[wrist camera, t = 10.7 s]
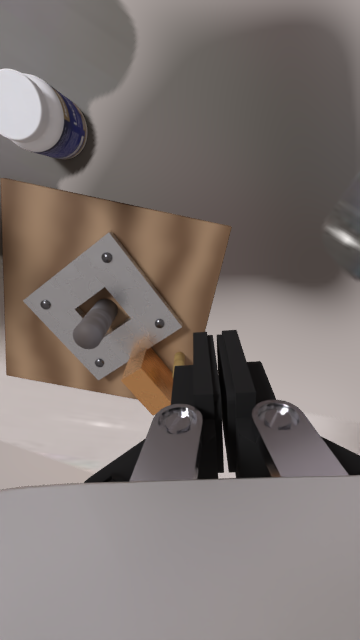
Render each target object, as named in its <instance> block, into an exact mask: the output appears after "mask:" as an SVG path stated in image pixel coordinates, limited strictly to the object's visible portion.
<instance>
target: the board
mask: <svg viewBox="0 0 360 640" xmlns="http://www.w3.org/2000/svg"><path fill="white" fill-rule="evenodd" d="M1 209H2V242H3V275H4V308H5V341H6V374H7V375H9V376H14V377H20V378H25V379H30V380H36V381H41V382H47V383H52V384H57V385H63V386H68V387H74V388H79V389H84V390H90V391H95V392H101V393H106V394H111V395H117V396H122V397H128V398H133V399H137V398H136V397H135V395H134V394H133V393H132V392H131V391H130V390H129V389H128V388H127V387H126V386H125V385H124V384H123V382H122V381H121V379H122V376H123V373H124V371H125V368H126V365H127V363H125V364H124V365H122V366H120V367H119V368H117V369H116V370H114V371H113V372H111V373H109V374H108V375H106V376H105V377H103V378H102V379H100V380H97V379H96V377H95V376H94V375H93V374H92V373H91V372H90V371H89V370H88V369H87V368H86V367H85V366H84V365H83V364H82V363H81V362H80V361H79V360H78V359H77V357H76V356H75V355H74V354H73V353H72V352H71V351H70V350H69V349H68V348H67V347H66V346H65V345H64V344H63V343H62V342H61V341H60V340H59V339H58V337H57V336H56V335H55V334H54V333H53V332H52V331H51V330H50V329H49V328H48V327H47V326H46V325H45V324H44V323H43V322H42V321H41V320H40V319H39V317H38V316H37V315H36V314H35V313H34V312H33V311H32V310H31V309H30V308H29V307H28V306H27V305H26V304H25V303H24V302H23V300H24V299H26V298H27V297H28V296H29V295H31V294H32V293H33V292H34V291H36V290H37V289H38V288H39V287H41V286H42V285H43V284H44V283H46V282H47V281H48V280H49V279H51V278H52V277H53V276H55V275H56V274H57V273H58V272H60V271H61V270H62V269H63V268H65V267H66V266H67V265H68V264H70V263H71V262H72V261H73V260H75V259H76V258H77V257H78V256H80V255H81V254H82V253H84V252H85V251H86V250H87V249H89V248H90V247H91V246H92V245H94V244H95V243H96V242H97V241H99V240H100V239H101V238H102V237H104V236H105V235H106V234H107V233H109V232H111V231H112V232H113V234H114V235H115V236H116V238H117V239H118V240H119V242H120V243H121V244H122V245H123V247H124V248H125V249H126V251H127V252H128V253H129V255H130V256H131V257H132V258H133V260H134V261H135V262H136V264H137V265H138V266H139V268H140V269H141V270H142V271H143V273H144V274H145V275H146V277H147V278H148V279H149V280H150V282H151V283H152V284H153V286H154V287H155V288H156V290H157V291H158V292H159V293H160V295H161V296H162V297H163V299H164V300H165V301H166V303H167V304H168V305H169V306H170V308H171V309H172V310H173V312H174V313H175V314H176V316H177V317H178V318H179V319H180V321H181V322H182V328H180V329H178V330H177V331H175V332H174V333H172V334H171V335H169V336H167V337H166V338H164V339H163V340H161V341H160V342H158V343H156V344H155V345H153V346H152V347H151V348H152V349H153V351H154V352H155V353H156V354H157V355H158V357H159V358H160V359H161V360H162V361H163V363H164V364H165V365H166V366H167V367H168V369H169V370H170V371H171V372H172V373H173V375H172V377H173V376H174V367H175V366H181V365H193V333H194V332H205V329H206V325H207V321H208V317H209V313H210V309H211V305H212V301H213V298H214V294H215V290H216V286H217V282H218V278H219V274H220V271H221V267H222V263H223V259H224V255H225V251H226V247H227V243H228V239H229V236H230V232H231V228H232V227H231V226H228V225H223V224H218V223H213V222H209V221H204V220H199V219H195V218H190V217H185V216H181V215H176V214H171V213H167V212H162V211H157V210H152V209H148V208H143V207H138V206H133V205H129V204H124V203H120V202H115V201H110V200H105V199H100V198H96V197H91V196H87V195H82V194H77V193H73V192H68V191H63V190H59V189H54V188H49V187H45V186H40V185H35V184H31V183H26V182H21V181H16V180H12V179H7V178H1ZM78 307H79V308H80V309H81V310H82V311H83V312H84V313H85V317H84V318H83V319H82V320H81V321H80V323H79V324H78V325H77V326H76V327H75V329H74V331H73V339H74V341H75V343H76V344H77V345H78V346H80V347H82V348H84V349H94V348H96V347H97V346H98V345H99V344H100V342H101V341H102V339H103V337H104V336H105V334H106V333H108V332H109V331H111V330H112V329H114V328H115V327H116V326H118V325H119V324H121V323H122V322H124V321H125V320H127V319H128V318H130V316H129V315H128V314H127V313H126V312H125V310H124V309H123V308H122V307H121V306H120V304H119V303H118V302H117V301H116V300H115V298H114V297H113V296H112V295H111V294H110V292H109V291H108V290H107V289H106V288H105V287H104V288H103V289H101V290H100V291H99V292H97V293H96V294H95V295H93V296H92V297H91V298H89V299H88V300H87V301H85V302H84V303H82V304H81V305H80V306H78Z"/></svg>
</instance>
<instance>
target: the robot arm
mask: <svg viewBox="0 0 360 640" xmlns="http://www.w3.org/2000/svg"><path fill="white" fill-rule="evenodd" d="M217 355H218V370H217V363H216V356H215V349H214V342H213V335H207V332H194V333H193V365H181V366H175V367H174V376H173V386H172V396H171V405H169V406H166V407H164V408H162V409H161V410H160V411H159V412H157V413H156V415H155V417H154V418H153V421H152V423H151V426H150V429H149V431H148V434H147V437H146V439H144V440H143V441H141V442H140V443H139V444H137V445H136V446H134V447H133V448H131V449H130V450H129V451H127V452H126V453H124V454H123V455H121V456H120V457H118V458H117V459H116V460H114V461H113V462H111V463H110V464H108V465H107V466H105V467H104V468H103V469H101V470H100V471H98V472H97V473H95V474H94V475H93V476H91V477H90V478H89V479H87V480H86V481H85V482H84V483H71V484H54V485H39V486H24V487H16V488H9V489H2V490H0V640H360V456H359V455H357V454H355V453H353V452H351V451H349V450H347V449H345V448H343V447H341V446H339V445H337V444H335V443H333V442H331V441H329V440H327V439H325V438H323V437H321V436H320V435H319V434H318V432H317V431H316V430H315V428H314V427H313V426H312V424H311V423H310V421H309V420H308V419H307V417H306V416H305V415H304V413H303V412H302V411H301V410H300V409H299V408H298V407H296V406H295V405H293V404H291V403H289V402H286V401H281V400H276V398H275V395H274V393H273V390H272V388H271V385H270V383H269V380H268V378H267V375H266V373H265V370H264V368H263V366H262V363H261V362H260V361H258V362H246V359H245V356H244V353H243V349H242V346H241V343H240V340H239V337H238V334H237V331H236V330H229V331H222V335H217ZM222 423H223V430H224V438H225V446H226V453H227V461H228V469H229V472H235V473H236V478H225V479H218V473H224V463H223V436H222Z"/></svg>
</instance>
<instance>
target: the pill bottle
mask: <svg viewBox="0 0 360 640" xmlns="http://www.w3.org/2000/svg"><path fill="white" fill-rule="evenodd" d="M0 134H1V135H2V136H4V137H6V138H8V139H10V140H11V141H12V142H14V143H15V144H16V145H18V146H19V147H21V148H23V149H25V150H28V151H31V152H34V153H38V154H42V155H46V156H49V157H53V158H57V159H70V158H73V157H75V156H76V155H78V154H79V153H80V152H81V151H82V149H83V148H84V146H85V143H86V140H87V125H86V121H85V118H84V116H83V114H82V112H81V111H80V109H79V108H78V107H77V106H76V105H75V104H74V103H73V102H72V101H70V100H69V99H68V98H66V97H65V96H64V95H62V94H61V93H60V92H58V91H57V90H56V89H54V88H53V87H52V86H50V85H49V84H48V83H46V82H45V81H43V80H42V79H40V78H38V77H36V76H34V75H30V74H22V73H20V72H18V71H16V70H12V69H1V70H0Z"/></svg>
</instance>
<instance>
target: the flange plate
mask: <svg viewBox="0 0 360 640" xmlns="http://www.w3.org/2000/svg"><path fill="white" fill-rule="evenodd" d="M104 287H105V288H106V289H107V290H108V291H109V292H110V294H111V295H112V296H113V297H114V298H115V300H116V301H117V302H118V303H119V304H120V306H121V307H122V308H123V309H124V310H125V312H126V313H127V314H128V315H129V316H130V318H128V319H127V320H125V321H124V322H122V323H121V324H119V325H118V326H116V327H115V328H114V329H112V330H111V331H109V332H108V333H106V334H105V336H104V337H103V339H102V341H101V342H100V344H99V345H98V346H97V347H96V348H94V349H84V348H82V347H80V346H78V345H77V344H76V343H75V341H74V339H73V331H74V329H75V327H76V326H77V325H78V324H79V323H80V321H81V320H82V319H83V318H84V317H85V313H84V312H83V311H82V310H81V309H80V308H79V307H78V306H80V305H81V304H82V303H84V302H85V301H87V300H88V299H89V298H91V297H92V296H93V295H95V294H96V293H97V292H99V291H100V290H101V289H103V288H104ZM23 302H24V303H25V304H26V305H27V306H28V307H29V308H30V309H31V310H32V311H33V312H34V313H35V314H36V315H37V316H38V317H39V319H40V320H41V321H42V322H43V323H44V324H45V325H46V326H47V327H48V328H49V329H50V330H51V331H52V332H53V333H54V334H55V335H56V336H57V337H58V339H59V340H60V341H61V342H62V343H63V344H64V345H65V346H66V347H67V348H68V349H69V350H70V351H71V352H72V353H73V354H74V355H75V356H76V357H77V359H78V360H79V361H80V362H81V363H82V364H83V365H84V366H85V367H86V368H87V369H88V370H89V371H90V372H91V373H92V374H93V375H94V376H95V377H96V379H97V380H100V379H102V378H103V377H105V376H106V375H108V374H109V373H111V372H113V371H114V370H116V369H117V368H119V367H120V366H122V365H124V364H125V363H127V365H126V368H125V371H124V373H123V376H122V379H121V381H122V382H123V384H124V385H125V386H126V387H127V388H128V389H129V390H130V391H131V392H132V393H133V394H134V395H135V397H136V398H137V399H138V400H139V401H140V402H141V403H142V404H143V405H144V406H145V407H146V409H147V410H148V411H149V412H150V413H151V414H152V415H155V414H156V413H157V412H159V411H160V410H161V409H162V408H164V407H166V406H169V405H171V396H172V386H173V377H172V375H173V373H172V372H171V371H170V370H169V369H168V367H167V366H166V365H165V364H164V363H163V361H162V360H161V359H160V358H159V357H158V355H157V354H156V353H155V352H154V351H153V349H152V348H151V347H152V346H153V345H155V344H156V343H158V342H160V341H161V340H163V339H164V338H166V337H167V336H169V335H171V334H172V333H174V332H175V331H177V330H178V329H180V328H182V322H181V321H180V319H179V318H178V317H177V316H176V314H175V313H174V312H173V310H172V309H171V308H170V306H169V305H168V304H167V303H166V301H165V300H164V299H163V297H162V296H161V295H160V293H159V292H158V291H157V290H156V288H155V287H154V286H153V284H152V283H151V282H150V280H149V279H148V278H147V277H146V275H145V274H144V273H143V271H142V270H141V269H140V268H139V266H138V265H137V264H136V262H135V261H134V260H133V258H132V257H131V256H130V255H129V253H128V252H127V251H126V249H125V248H124V247H123V245H122V244H121V243H120V242H119V240H118V239H117V238H116V236H115V235H114V234H113V232H112V231H111V232H109V233H107V234H106V235H105V236H104V237H102V238H101V239H100V240H99V241H97V242H96V243H95V244H94V245H92V246H91V247H90V248H89V249H87V250H86V251H85V252H84V253H82V254H81V255H80V256H78V257H77V258H76V259H75V260H73V261H72V262H71V263H70V264H68V265H67V266H66V267H65V268H63V269H62V270H61V271H60V272H58V273H57V274H56V275H55V276H53V277H52V278H51V279H49V280H48V281H47V282H46V283H44V284H43V285H42V286H41V287H39V288H38V289H37V290H36V291H34V292H33V293H32V294H31V295H29V296H28V297H27V298H26V299H24V300H23Z"/></svg>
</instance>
